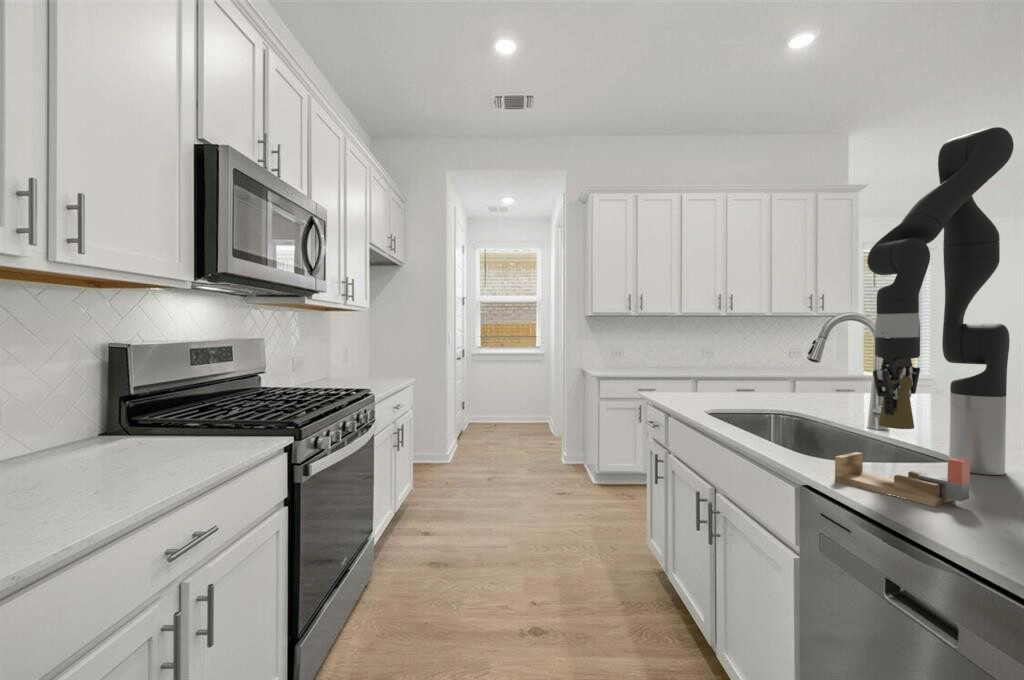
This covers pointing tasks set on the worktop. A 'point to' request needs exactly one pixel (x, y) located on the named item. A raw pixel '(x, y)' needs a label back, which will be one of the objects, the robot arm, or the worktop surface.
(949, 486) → the red grey l-shaped block
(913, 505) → the worktop surface
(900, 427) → the olive rounded piece
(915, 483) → the light brown wooden holder
